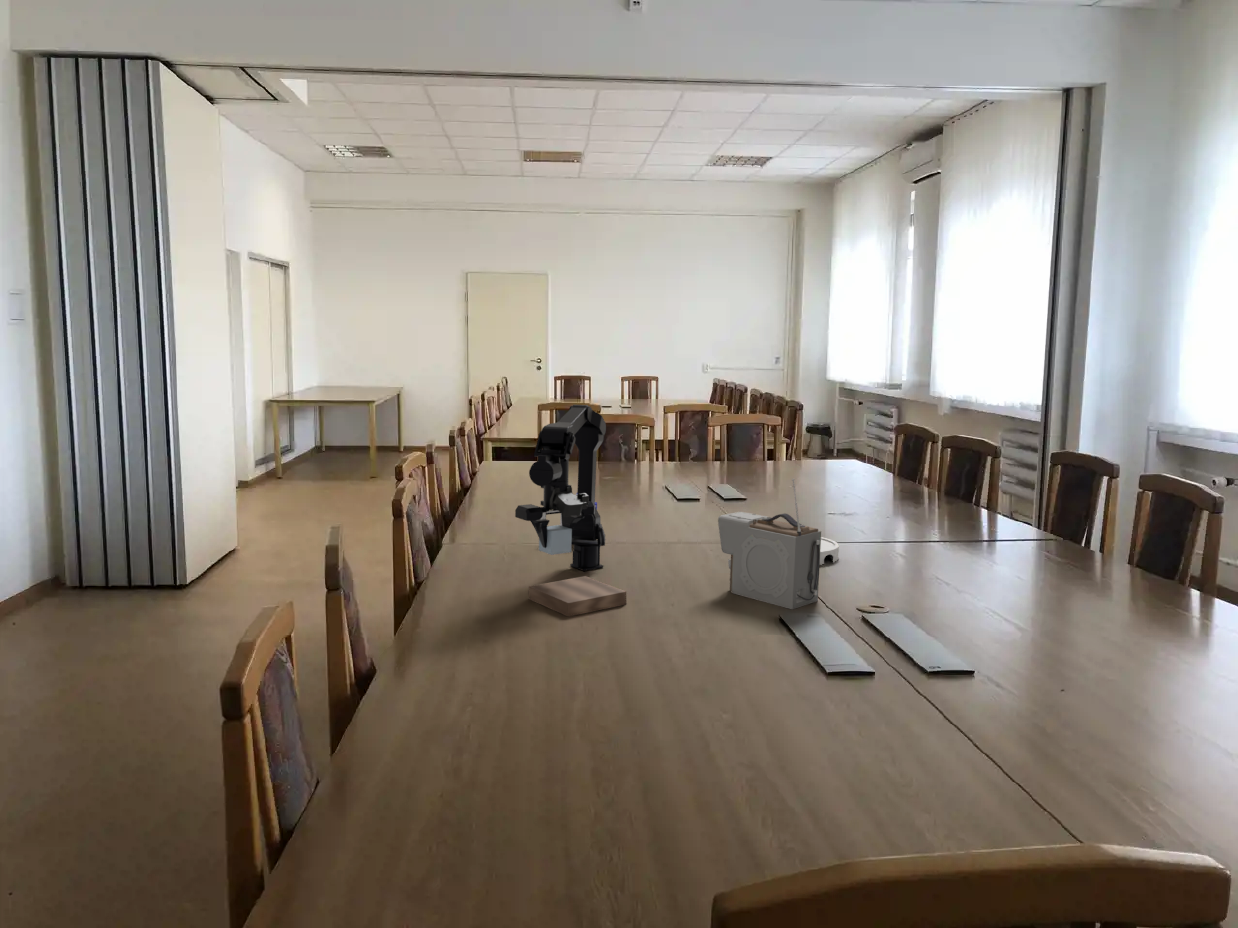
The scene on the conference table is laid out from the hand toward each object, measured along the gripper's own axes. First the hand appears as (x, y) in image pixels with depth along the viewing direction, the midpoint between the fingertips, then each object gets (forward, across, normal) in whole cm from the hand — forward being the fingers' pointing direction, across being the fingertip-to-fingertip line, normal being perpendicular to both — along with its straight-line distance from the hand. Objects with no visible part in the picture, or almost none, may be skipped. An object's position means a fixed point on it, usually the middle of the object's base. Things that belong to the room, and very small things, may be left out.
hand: (555, 546), depth 212 cm
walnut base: (+11, +1, -8) cm, 14 cm away
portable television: (+11, +41, -28) cm, 51 cm away
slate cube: (+1, 0, 0) cm, 1 cm away
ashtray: (+11, +78, -4) cm, 79 cm away
